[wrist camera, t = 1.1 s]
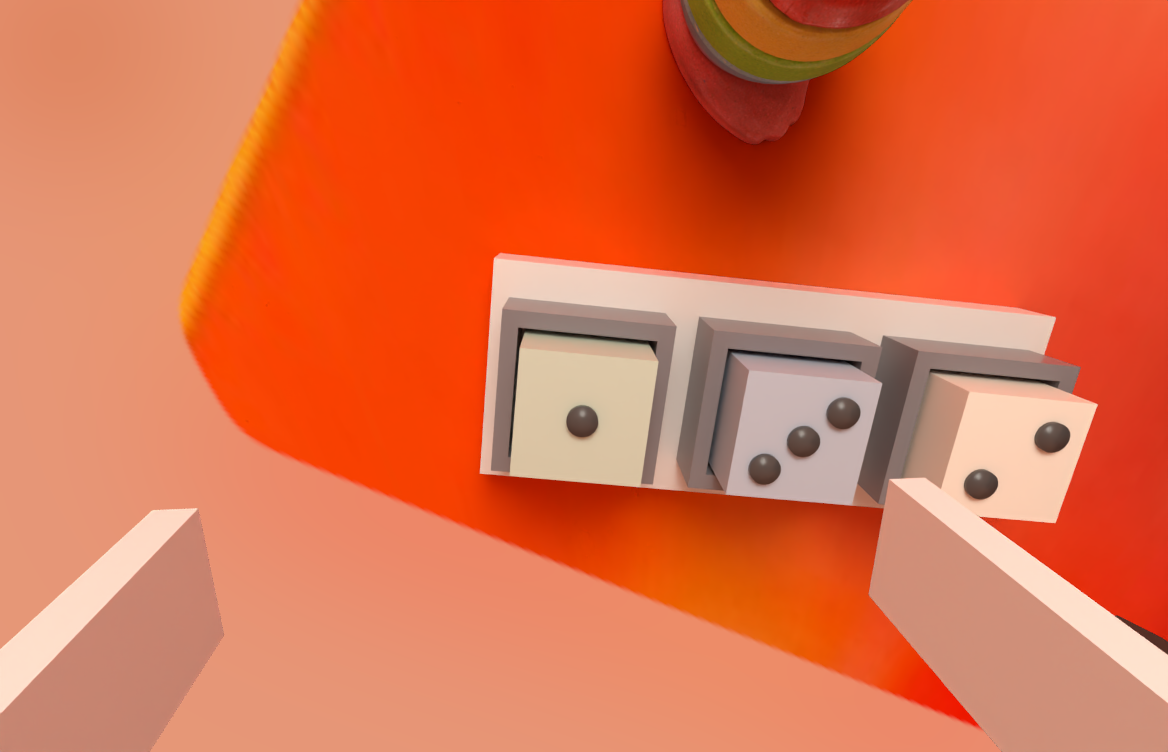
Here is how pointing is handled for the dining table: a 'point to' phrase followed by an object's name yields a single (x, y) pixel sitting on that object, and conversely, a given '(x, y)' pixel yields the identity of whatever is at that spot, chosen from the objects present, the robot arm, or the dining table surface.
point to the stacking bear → (767, 53)
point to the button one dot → (582, 408)
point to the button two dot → (998, 443)
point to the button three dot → (792, 427)
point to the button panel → (753, 323)
